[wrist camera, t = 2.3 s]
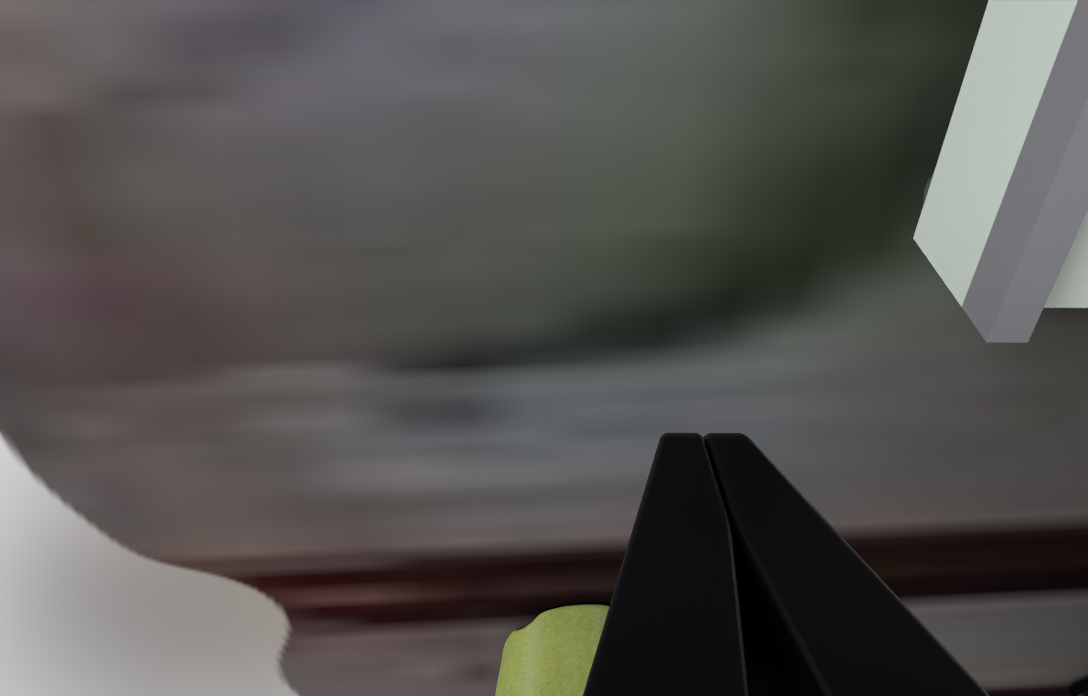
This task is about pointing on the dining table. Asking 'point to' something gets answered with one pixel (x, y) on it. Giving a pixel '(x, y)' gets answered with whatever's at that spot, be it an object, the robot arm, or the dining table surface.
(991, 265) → the pale green box
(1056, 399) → the dining table surface
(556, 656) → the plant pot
